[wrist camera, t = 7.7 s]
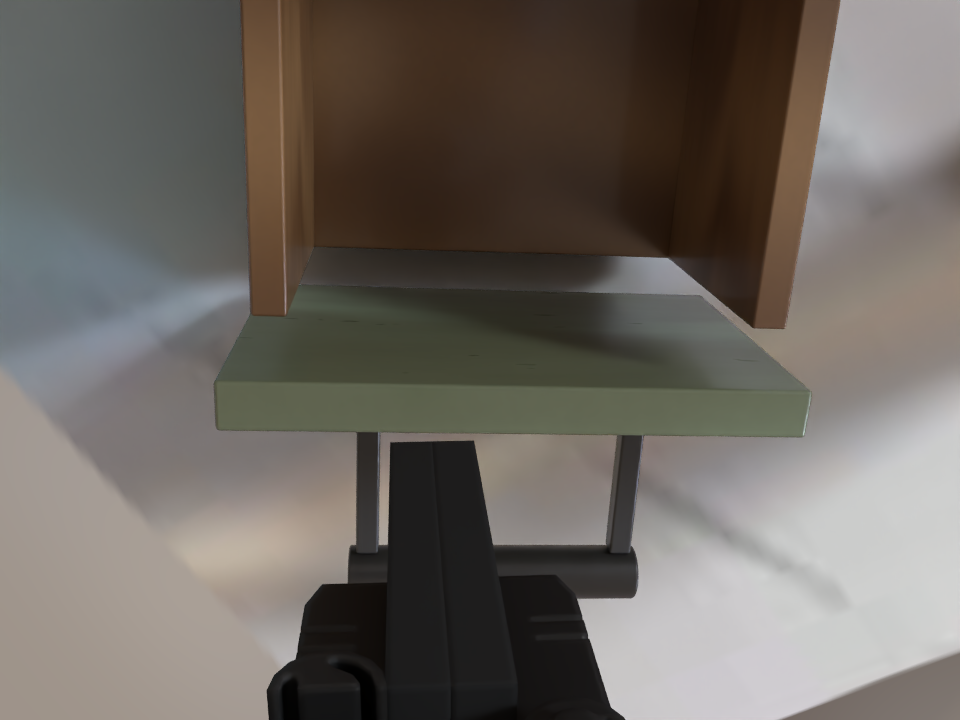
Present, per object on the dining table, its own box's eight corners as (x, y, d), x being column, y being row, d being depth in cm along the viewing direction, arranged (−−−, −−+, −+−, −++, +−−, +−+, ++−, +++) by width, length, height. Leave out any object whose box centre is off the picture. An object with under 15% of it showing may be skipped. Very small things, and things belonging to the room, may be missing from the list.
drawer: (673, 506, 32) (764, 663, 24) (271, 504, 30) (226, 670, 22) (784, -319, 24) (976, -496, 16) (247, -370, 22) (165, -588, 15)
